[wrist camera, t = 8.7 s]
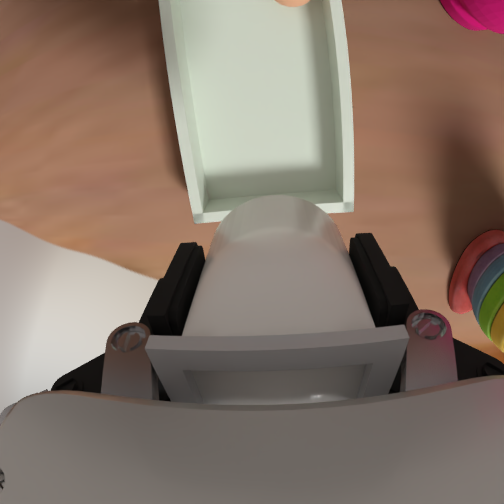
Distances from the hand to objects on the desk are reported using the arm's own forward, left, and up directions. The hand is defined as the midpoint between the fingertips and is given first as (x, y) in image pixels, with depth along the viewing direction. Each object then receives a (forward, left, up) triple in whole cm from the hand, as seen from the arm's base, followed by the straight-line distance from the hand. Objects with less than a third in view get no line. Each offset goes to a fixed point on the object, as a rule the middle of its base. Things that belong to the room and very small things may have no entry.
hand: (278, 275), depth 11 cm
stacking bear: (-24, +12, -16) cm, 31 cm away
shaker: (0, 0, -1) cm, 1 cm away
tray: (0, -8, -15) cm, 17 cm away
